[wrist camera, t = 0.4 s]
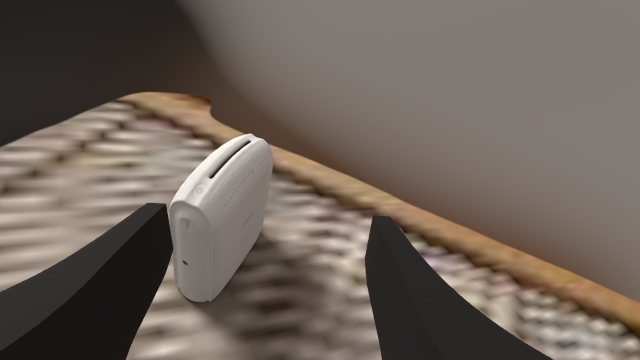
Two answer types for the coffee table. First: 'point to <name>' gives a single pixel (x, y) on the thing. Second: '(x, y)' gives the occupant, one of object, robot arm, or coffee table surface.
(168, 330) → the coffee table surface
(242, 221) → the photo printer
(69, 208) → the coffee table surface
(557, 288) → the coffee table surface
